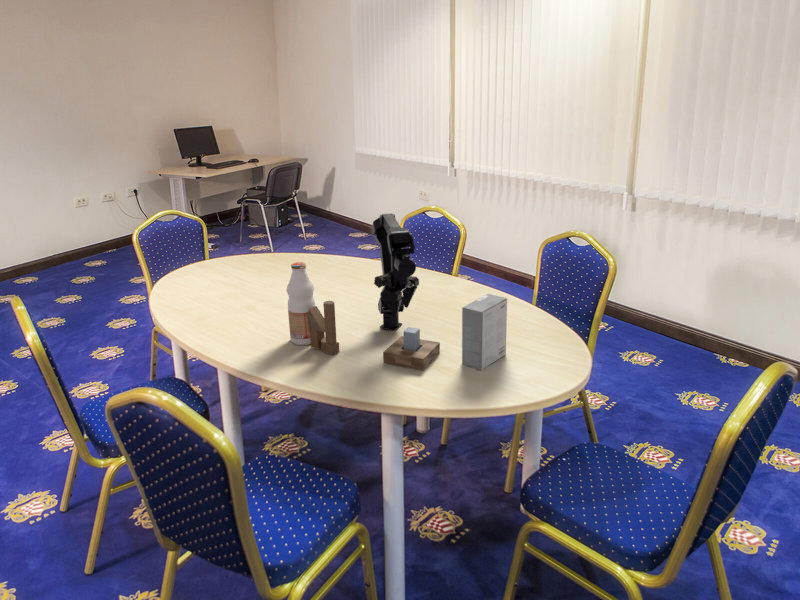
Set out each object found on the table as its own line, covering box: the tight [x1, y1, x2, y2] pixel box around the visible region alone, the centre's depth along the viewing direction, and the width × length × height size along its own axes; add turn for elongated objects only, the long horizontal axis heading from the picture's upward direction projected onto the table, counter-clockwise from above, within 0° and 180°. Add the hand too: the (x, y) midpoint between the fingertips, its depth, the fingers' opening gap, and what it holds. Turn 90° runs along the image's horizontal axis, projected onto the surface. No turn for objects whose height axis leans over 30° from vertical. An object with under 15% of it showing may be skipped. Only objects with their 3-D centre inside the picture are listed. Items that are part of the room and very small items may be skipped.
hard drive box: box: [461, 293, 508, 371], centre depth 201 cm, size 16×8×20 cm, turn 141°
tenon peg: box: [402, 326, 421, 352], centre depth 205 cm, size 4×4×9 cm
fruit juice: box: [286, 261, 316, 346], centre depth 217 cm, size 9×9×28 cm
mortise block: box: [382, 335, 441, 371], centre depth 206 cm, size 14×14×4 cm
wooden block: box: [309, 300, 340, 356], centre depth 211 cm, size 4×11×18 cm, turn 48°
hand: (400, 311), depth 213 cm, fingers open, 9 cm apart
